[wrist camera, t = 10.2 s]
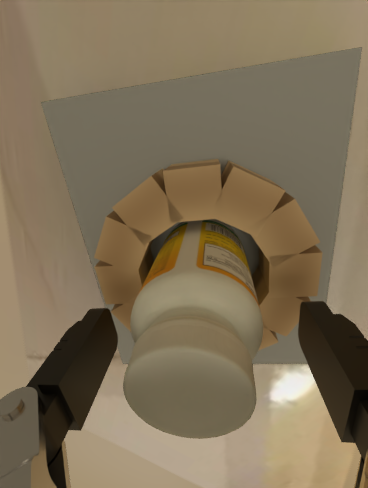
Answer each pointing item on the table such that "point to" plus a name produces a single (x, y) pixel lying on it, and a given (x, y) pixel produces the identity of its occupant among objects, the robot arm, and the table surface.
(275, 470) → the table surface
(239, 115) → the gray rectangular board
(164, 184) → the segmented wooden ring
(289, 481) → the table surface
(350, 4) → the table surface
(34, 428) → the robot arm
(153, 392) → the supplement bottle
